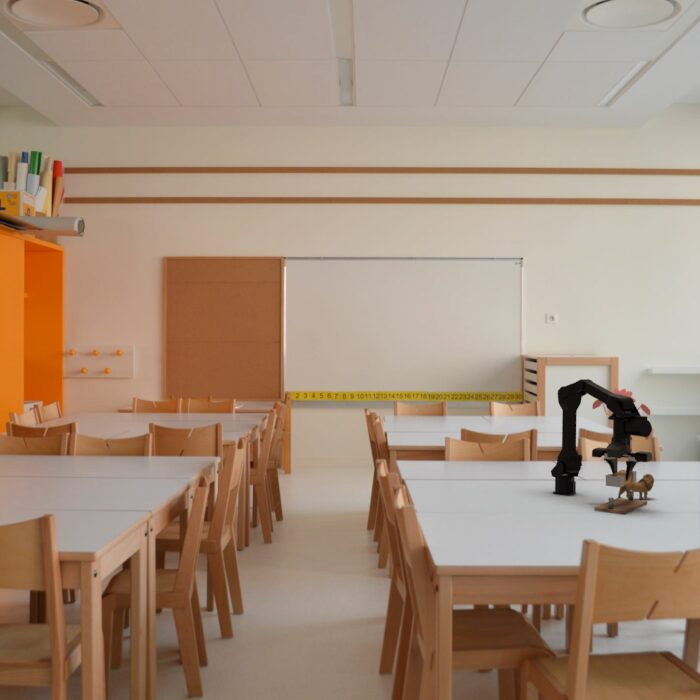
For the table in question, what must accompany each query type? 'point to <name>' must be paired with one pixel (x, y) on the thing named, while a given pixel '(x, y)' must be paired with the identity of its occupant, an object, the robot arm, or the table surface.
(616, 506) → the board
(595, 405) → the figurine
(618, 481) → the hammer
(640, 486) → the lion figurine
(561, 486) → the robot arm
